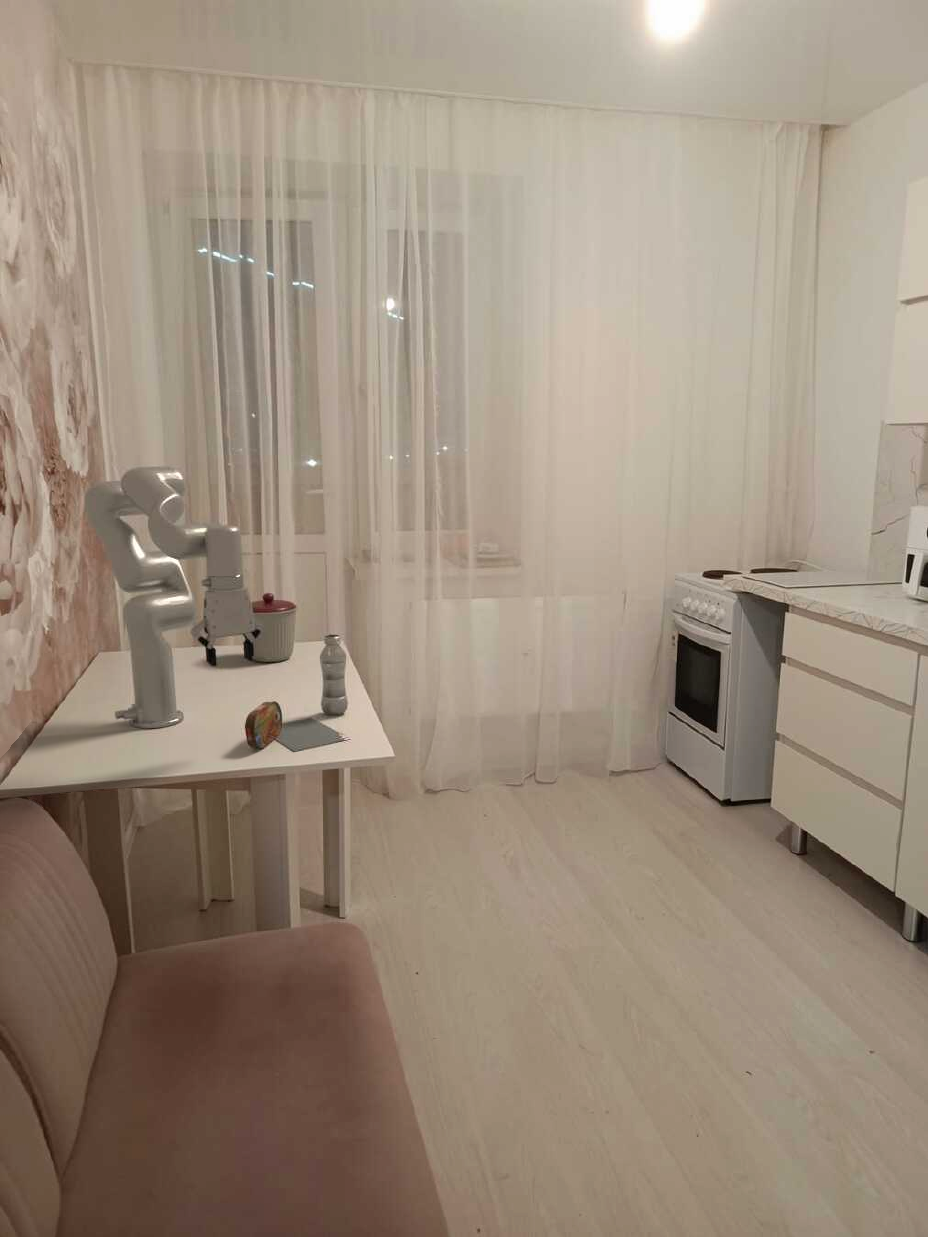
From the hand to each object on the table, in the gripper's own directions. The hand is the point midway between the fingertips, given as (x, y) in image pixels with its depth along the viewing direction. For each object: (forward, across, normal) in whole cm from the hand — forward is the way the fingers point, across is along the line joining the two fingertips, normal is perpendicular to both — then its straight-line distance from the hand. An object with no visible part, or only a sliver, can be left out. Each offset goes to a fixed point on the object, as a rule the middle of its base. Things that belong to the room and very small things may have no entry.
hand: (230, 661), depth 196 cm
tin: (+20, +7, 0) cm, 21 cm away
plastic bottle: (+20, +30, +10) cm, 38 cm away
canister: (+20, +41, +74) cm, 87 cm away
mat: (+20, +16, 0) cm, 26 cm away
